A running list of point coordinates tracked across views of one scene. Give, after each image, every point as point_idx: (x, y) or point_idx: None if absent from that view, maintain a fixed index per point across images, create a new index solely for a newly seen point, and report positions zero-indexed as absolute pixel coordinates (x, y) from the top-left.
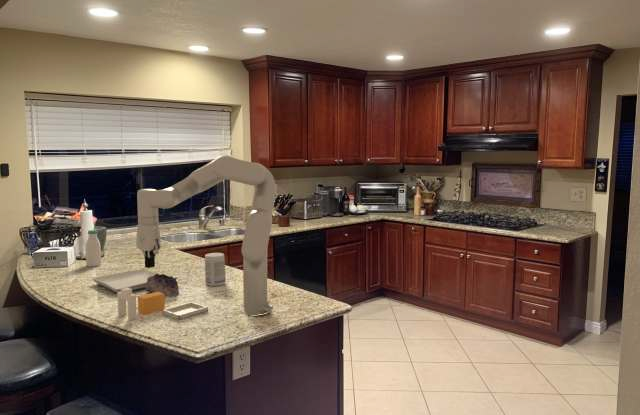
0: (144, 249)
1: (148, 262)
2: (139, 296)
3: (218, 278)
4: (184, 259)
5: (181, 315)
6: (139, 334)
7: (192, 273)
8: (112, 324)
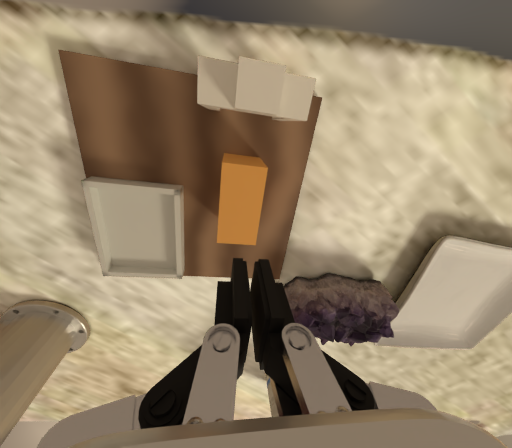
0: (235, 442)
1: (232, 290)
2: (261, 171)
3: (271, 388)
4: (437, 408)
5: (85, 190)
6: (75, 10)
7: None
8: (252, 36)
